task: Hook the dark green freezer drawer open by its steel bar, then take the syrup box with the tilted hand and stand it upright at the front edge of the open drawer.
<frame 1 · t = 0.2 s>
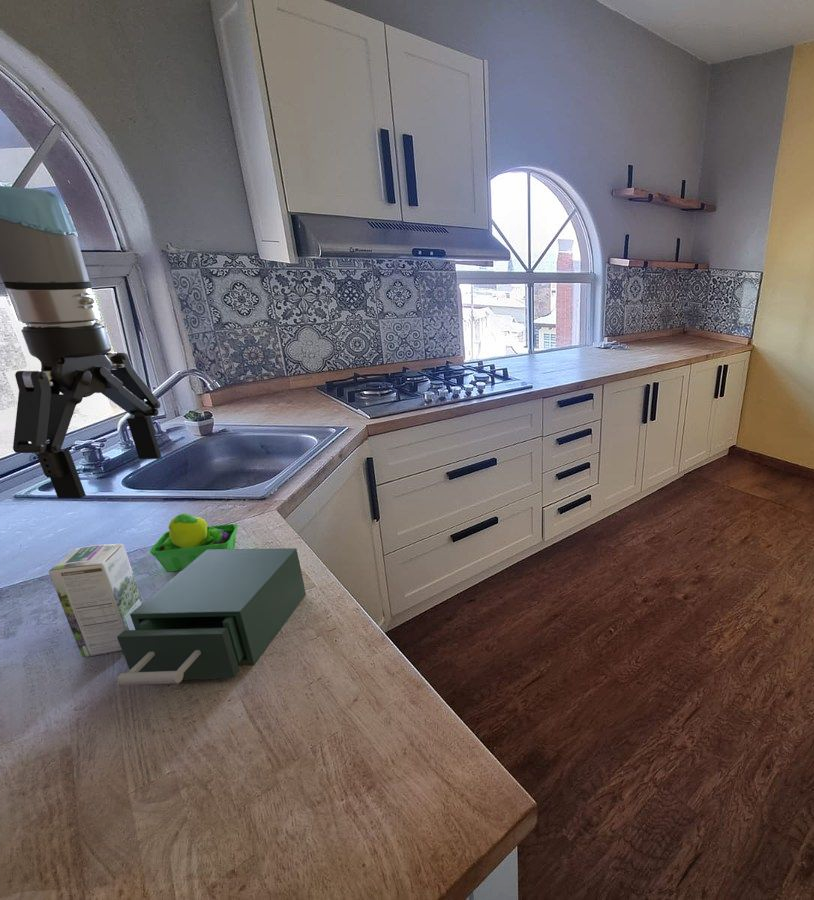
hand: (114, 476, 71), 23 cm above the countertop, tool pointing down, fingers open, 13 cm apart
freezer drawer: (201, 632, 69), point 5 cm above the countertop, slide at 2.0 cm
syrup box: (119, 641, 73), on the countertop
fruit basket: (201, 563, 91), on the countertop
freezer: (235, 627, 76), on the countertop
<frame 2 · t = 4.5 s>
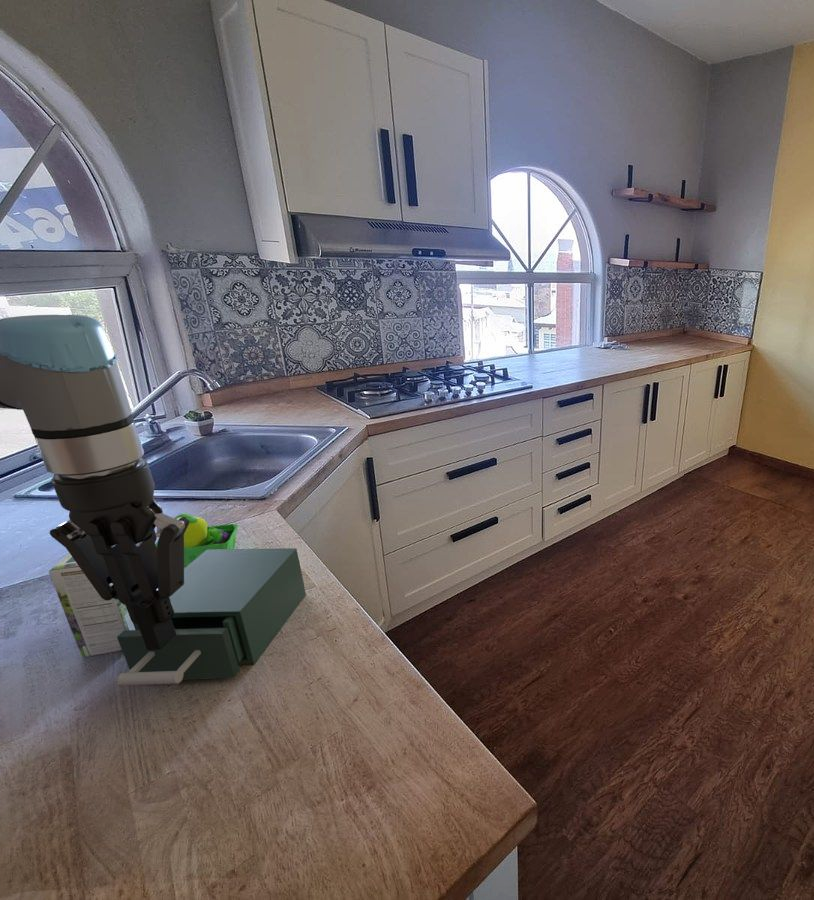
hand: (161, 641, 62), 8 cm above the countertop, tool pointing down, fingers closed
freezer drawer: (201, 632, 69), point 5 cm above the countertop, slide at 2.0 cm, touching gripper
everything else where it was.
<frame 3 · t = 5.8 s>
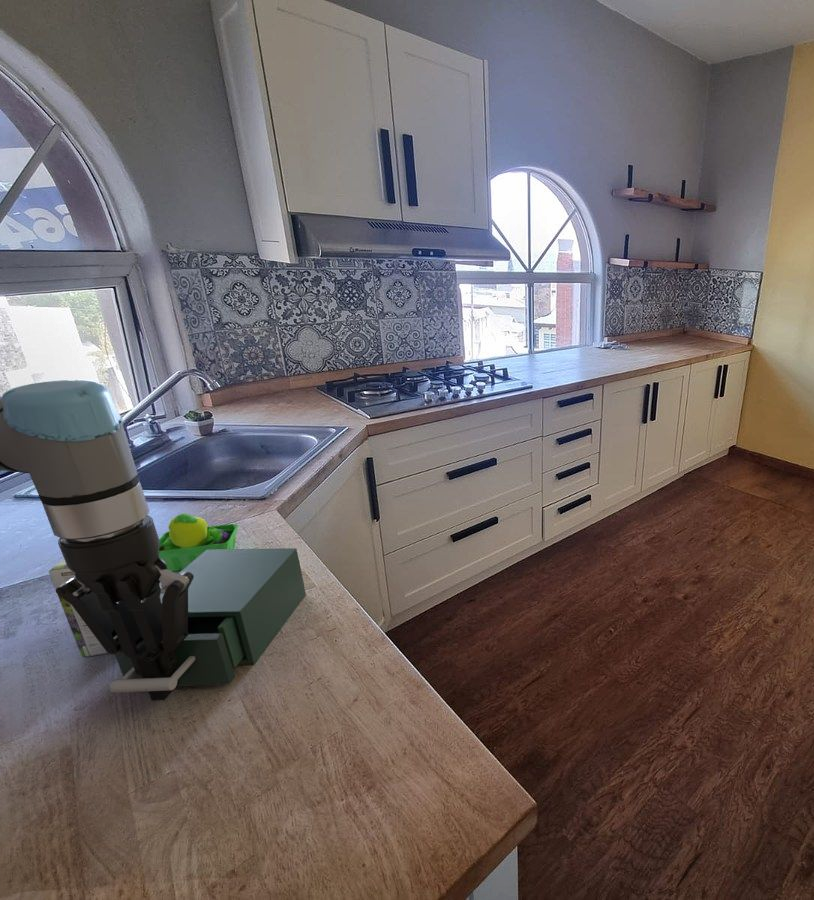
hand: (165, 691, 62), 2 cm above the countertop, tool pointing down, fingers closed
freezer drawer: (196, 637, 68), point 5 cm above the countertop, slide at 3.1 cm, touching gripper
everything else where it was.
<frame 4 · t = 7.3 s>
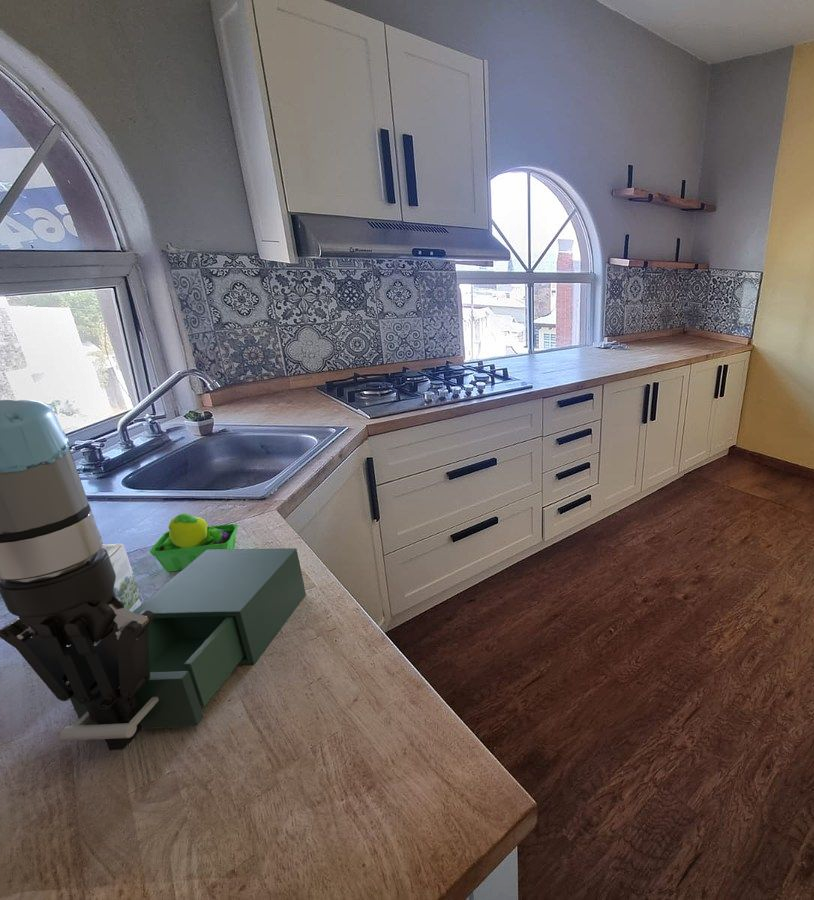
hand: (126, 738, 57), 2 cm above the countertop, tool pointing down, fingers closed
freezer drawer: (162, 673, 62), point 5 cm above the countertop, slide at 9.3 cm, touching gripper
everything else where it was.
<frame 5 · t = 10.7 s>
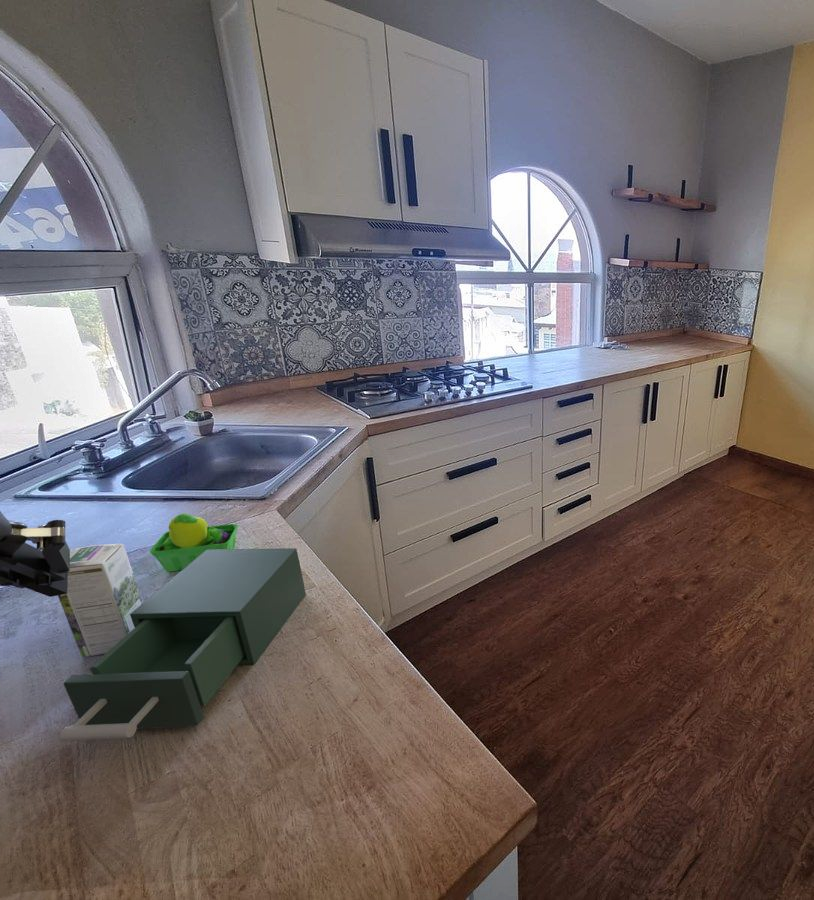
hand: (59, 584, 60), 16 cm above the countertop, tool tilted 45°, fingers closed
freezer drawer: (162, 673, 62), point 5 cm above the countertop, slide at 9.3 cm
everything else where it was.
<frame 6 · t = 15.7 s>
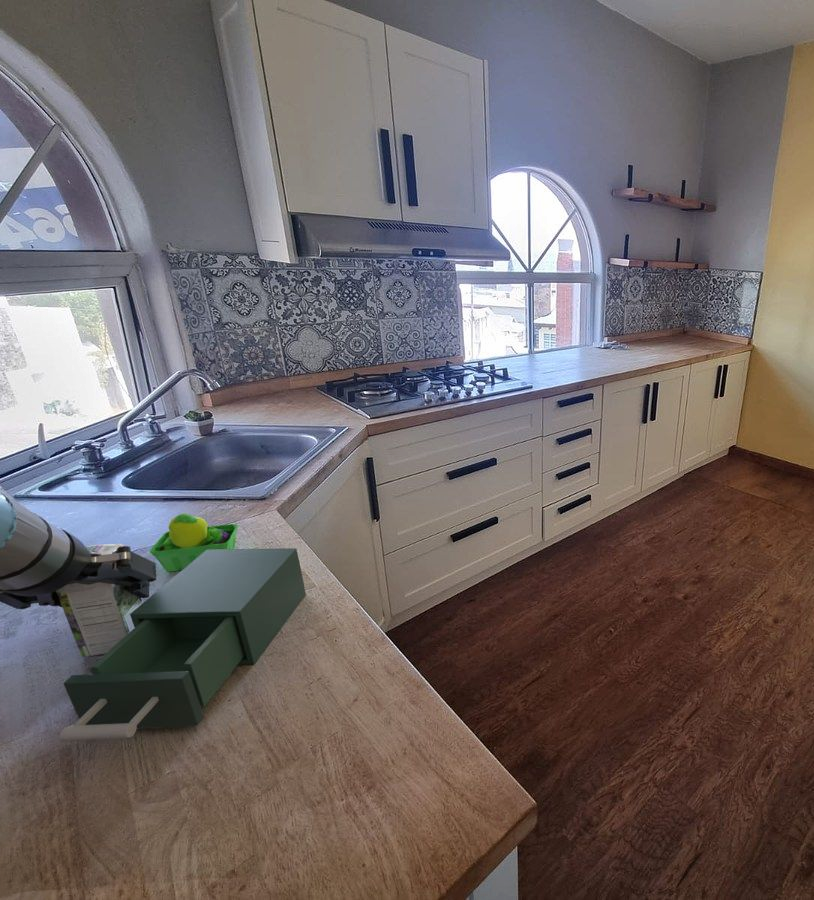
hand: (114, 595, 74), 5 cm above the countertop, tool tilted 45°, fingers closed on syrup box, 6 cm apart
syrup box: (119, 641, 73), on the countertop, touching gripper
everything else where it was.
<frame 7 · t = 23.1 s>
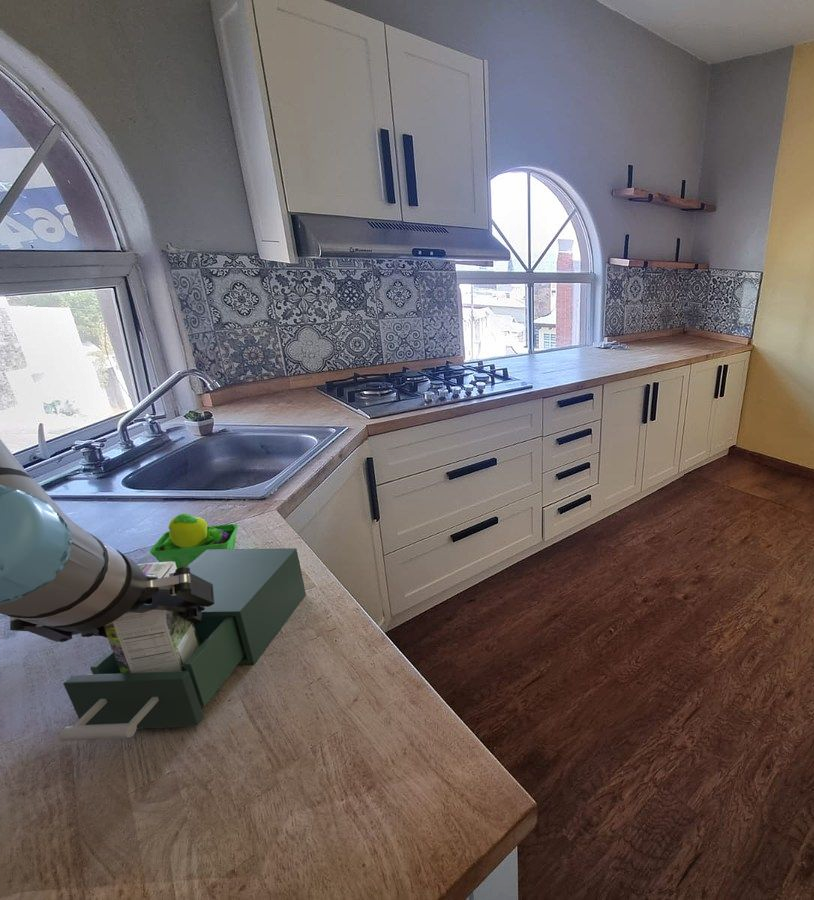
hand: (162, 621, 64), 9 cm above the countertop, tool tilted 45°, fingers closed on syrup box, 6 cm apart
syrup box: (169, 674, 63), point 4 cm above the countertop, touching gripper
everything else where it was.
when the fingers open (9 cm above the countertop, at t = 26.1 s): syrup box drops 2 cm, resting on freezer drawer.
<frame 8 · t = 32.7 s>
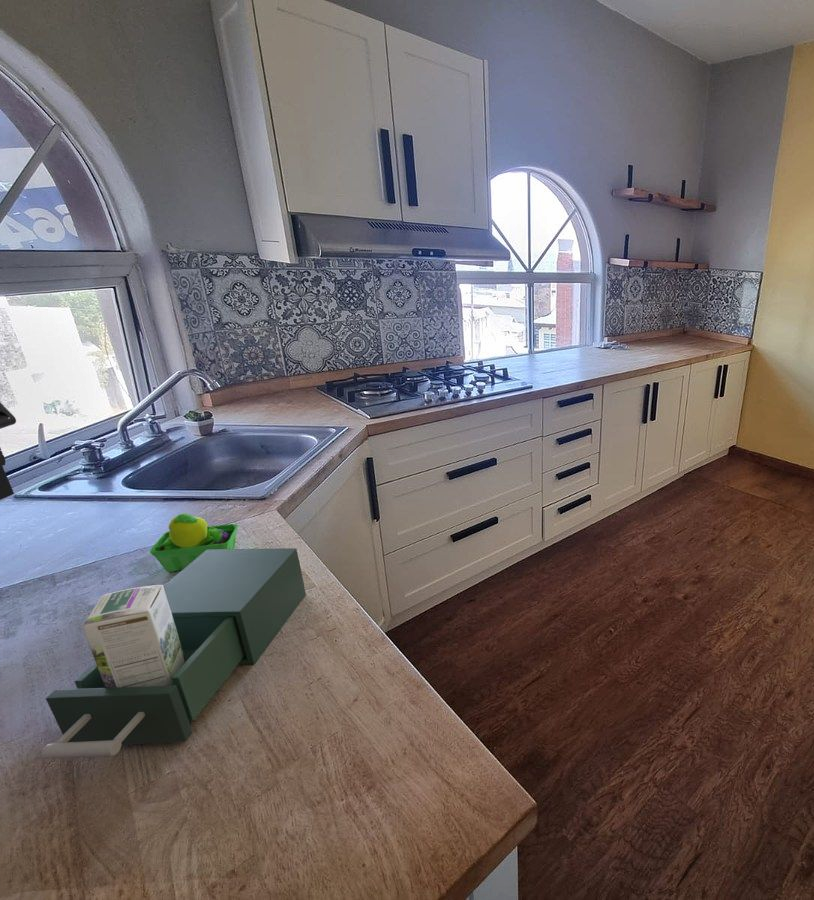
freezer drawer: (150, 686, 60), point 5 cm above the countertop, slide at 11.4 cm, touching syrup box
syrup box: (158, 700, 61), point 2 cm above the countertop, touching freezer drawer
everything else where it was.
at the end: freezer drawer slide at 11.4 cm; syrup box inside the target area in the freezer drawer (2.6 cm from its centre), point 1.8 cm above the freezer's base; syrup box tilted 0° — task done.
